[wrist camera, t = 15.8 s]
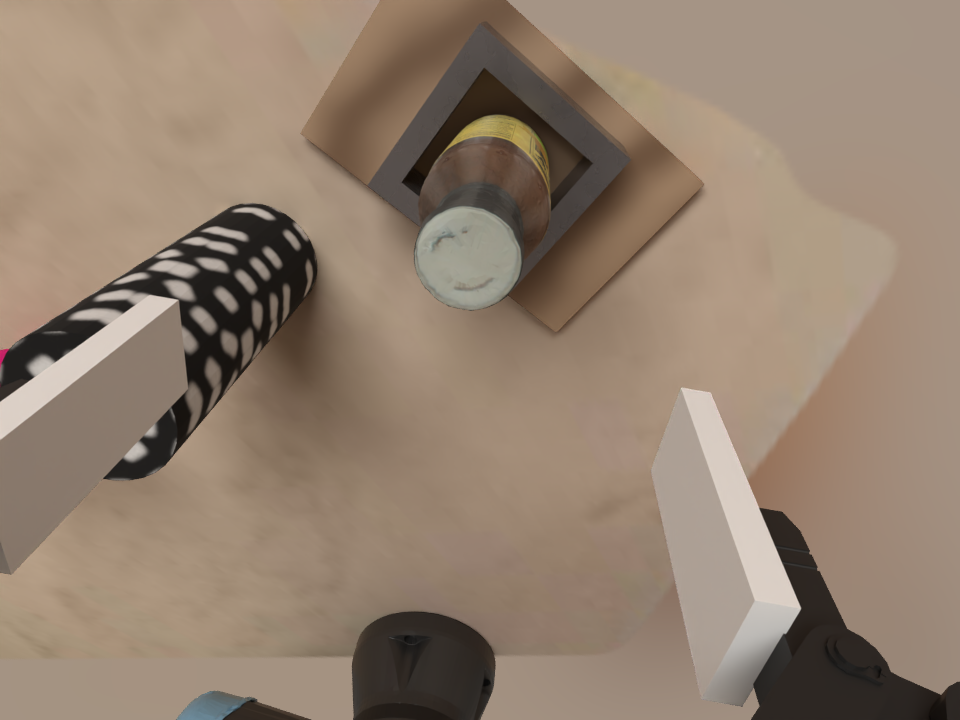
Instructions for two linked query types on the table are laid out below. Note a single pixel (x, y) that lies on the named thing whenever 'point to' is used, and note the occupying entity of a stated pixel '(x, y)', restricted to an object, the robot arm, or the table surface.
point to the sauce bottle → (482, 212)
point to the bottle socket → (538, 93)
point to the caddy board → (420, 66)
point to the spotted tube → (192, 315)
